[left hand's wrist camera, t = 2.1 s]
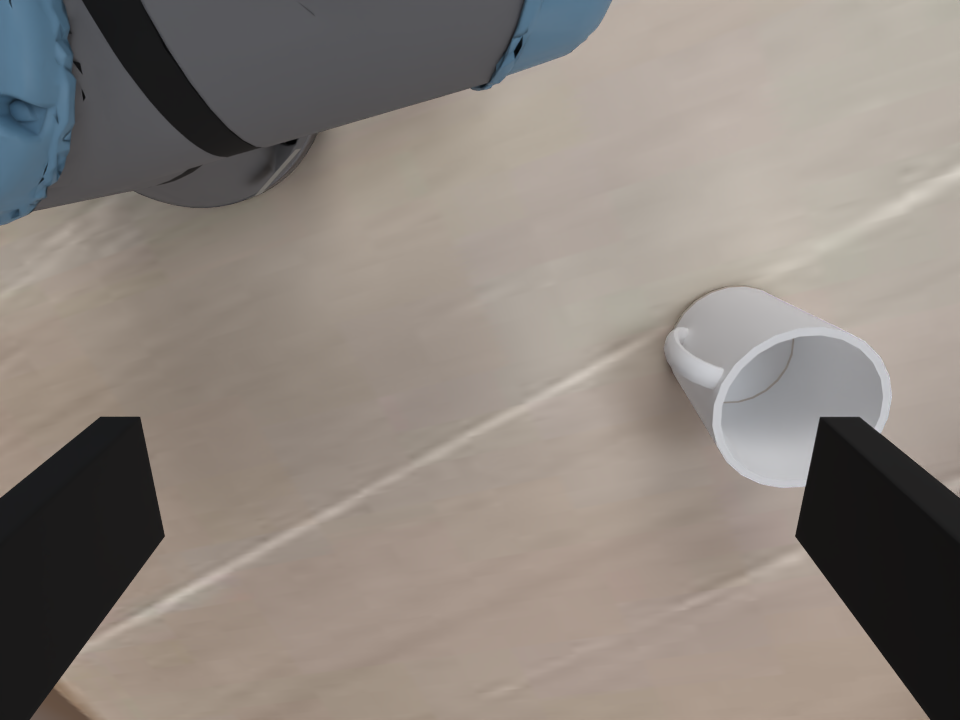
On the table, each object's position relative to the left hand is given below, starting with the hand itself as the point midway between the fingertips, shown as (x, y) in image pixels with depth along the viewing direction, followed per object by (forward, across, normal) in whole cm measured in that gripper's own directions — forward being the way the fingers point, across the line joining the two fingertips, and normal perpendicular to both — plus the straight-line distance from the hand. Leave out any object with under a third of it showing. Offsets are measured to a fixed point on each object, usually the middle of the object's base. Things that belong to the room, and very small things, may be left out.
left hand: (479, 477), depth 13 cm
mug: (+29, -15, +7) cm, 34 cm away
